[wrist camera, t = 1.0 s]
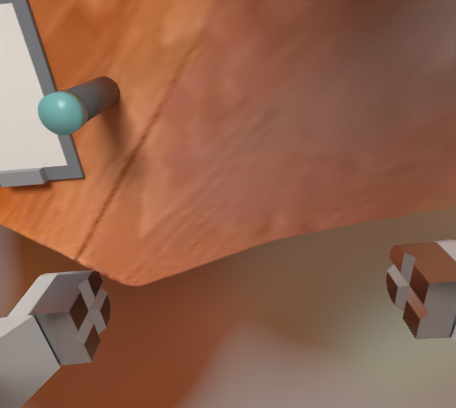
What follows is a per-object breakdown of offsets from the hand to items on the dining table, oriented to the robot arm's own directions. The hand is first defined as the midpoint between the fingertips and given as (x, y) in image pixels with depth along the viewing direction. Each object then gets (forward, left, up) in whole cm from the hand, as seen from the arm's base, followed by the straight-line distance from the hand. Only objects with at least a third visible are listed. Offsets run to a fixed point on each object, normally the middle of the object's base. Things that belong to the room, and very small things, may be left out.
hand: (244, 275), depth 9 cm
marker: (-1, -16, -35) cm, 39 cm away
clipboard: (-1, -30, -35) cm, 46 cm away
